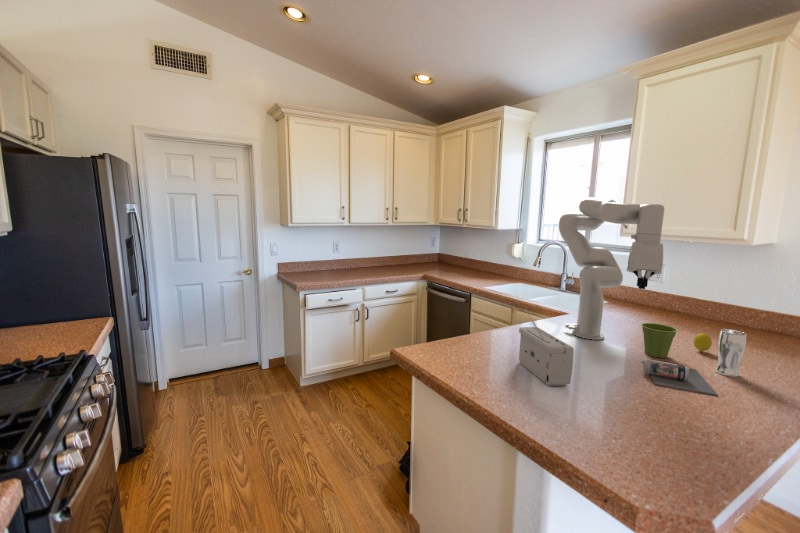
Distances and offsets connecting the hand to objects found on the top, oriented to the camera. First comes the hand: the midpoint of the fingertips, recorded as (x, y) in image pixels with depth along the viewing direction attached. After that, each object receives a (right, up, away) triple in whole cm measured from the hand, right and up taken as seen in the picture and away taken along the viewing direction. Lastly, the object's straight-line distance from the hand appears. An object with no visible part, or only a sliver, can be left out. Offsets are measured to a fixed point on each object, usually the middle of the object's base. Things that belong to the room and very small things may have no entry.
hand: (641, 288), depth 134 cm
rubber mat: (+3, -29, -12) cm, 32 cm away
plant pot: (+11, -27, +8) cm, 30 cm away
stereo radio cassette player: (-42, -28, -12) cm, 52 cm away
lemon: (+33, -27, +13) cm, 44 cm away
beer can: (-6, -26, -10) cm, 28 cm away
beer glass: (+25, -29, -7) cm, 39 cm away
